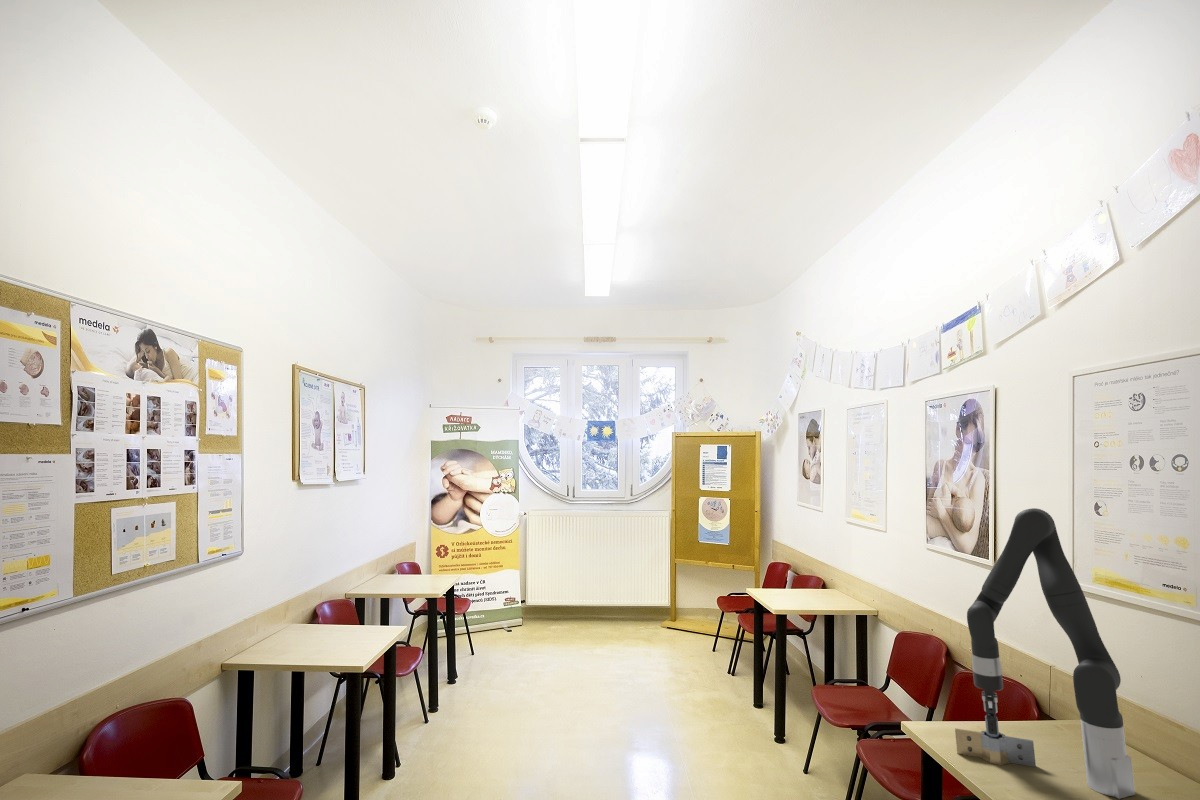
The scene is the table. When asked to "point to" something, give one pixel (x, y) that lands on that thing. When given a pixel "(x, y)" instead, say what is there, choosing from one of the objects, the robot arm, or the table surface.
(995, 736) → the pin
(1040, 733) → the table surface
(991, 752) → the hinge
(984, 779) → the table surface
